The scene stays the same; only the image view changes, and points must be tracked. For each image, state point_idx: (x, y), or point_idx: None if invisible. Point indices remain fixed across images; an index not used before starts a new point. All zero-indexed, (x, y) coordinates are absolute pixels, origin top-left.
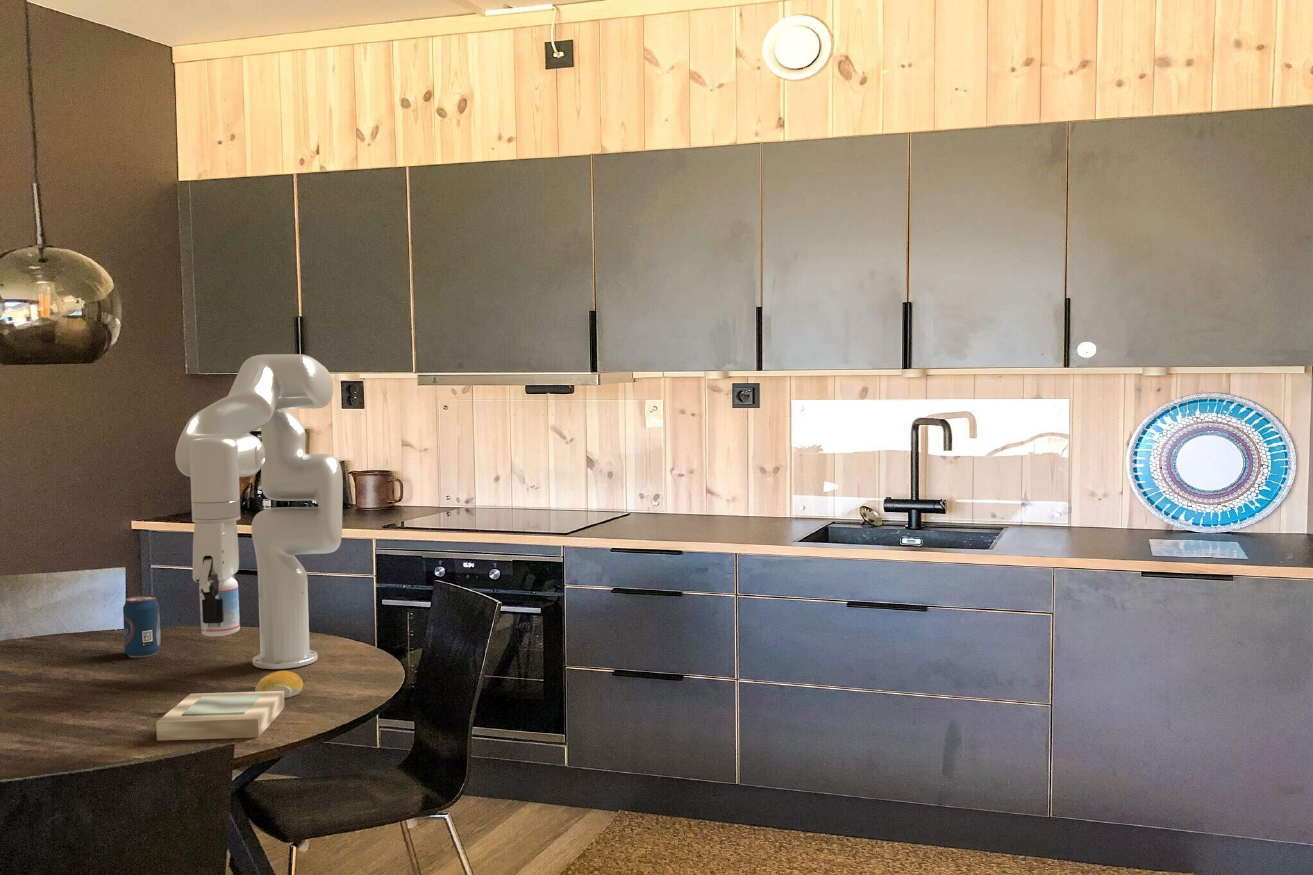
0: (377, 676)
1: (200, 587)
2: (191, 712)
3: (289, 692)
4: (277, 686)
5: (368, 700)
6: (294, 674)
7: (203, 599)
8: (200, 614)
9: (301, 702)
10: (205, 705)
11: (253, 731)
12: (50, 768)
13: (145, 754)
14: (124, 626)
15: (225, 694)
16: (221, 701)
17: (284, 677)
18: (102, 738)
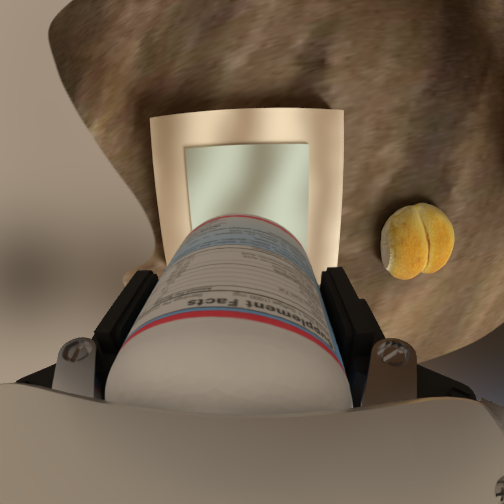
0: (440, 341)
1: (125, 357)
2: (194, 163)
3: (384, 266)
4: (390, 253)
5: None
6: (434, 268)
7: (75, 345)
8: (192, 247)
9: (352, 286)
10: (241, 172)
11: None
12: (63, 43)
13: (101, 135)
14: None
15: (329, 183)
16: (267, 195)
17: (407, 266)
18: (179, 26)
